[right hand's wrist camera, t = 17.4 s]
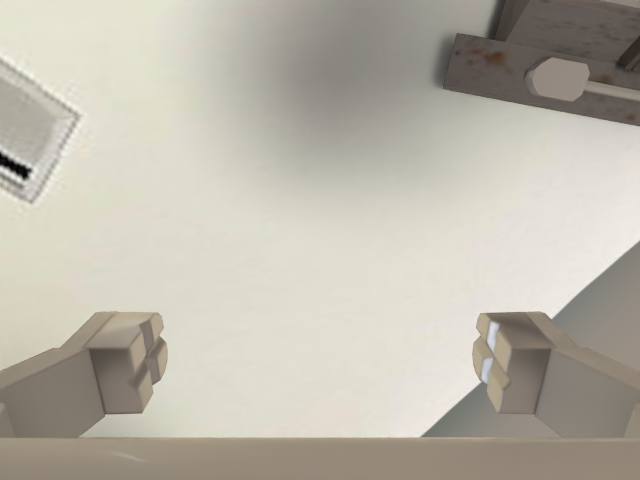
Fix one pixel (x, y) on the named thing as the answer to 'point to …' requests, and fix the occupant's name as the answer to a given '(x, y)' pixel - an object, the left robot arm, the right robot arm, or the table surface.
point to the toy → (557, 58)
